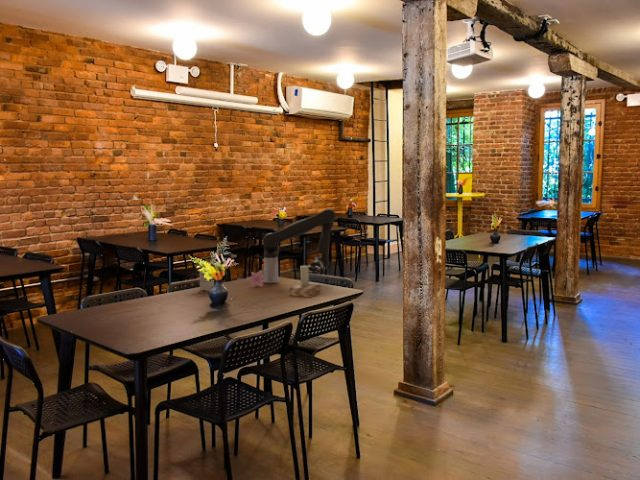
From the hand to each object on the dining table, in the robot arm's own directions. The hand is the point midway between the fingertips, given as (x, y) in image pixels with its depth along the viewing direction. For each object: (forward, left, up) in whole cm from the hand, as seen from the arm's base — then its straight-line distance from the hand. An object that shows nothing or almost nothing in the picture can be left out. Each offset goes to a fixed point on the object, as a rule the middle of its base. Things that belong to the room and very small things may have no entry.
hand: (310, 271), depth 361 cm
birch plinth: (-2, -4, -13) cm, 14 cm away
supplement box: (-65, -14, -14) cm, 68 cm away
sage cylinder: (-2, -4, -8) cm, 10 cm away
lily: (-43, +7, -14) cm, 46 cm away
